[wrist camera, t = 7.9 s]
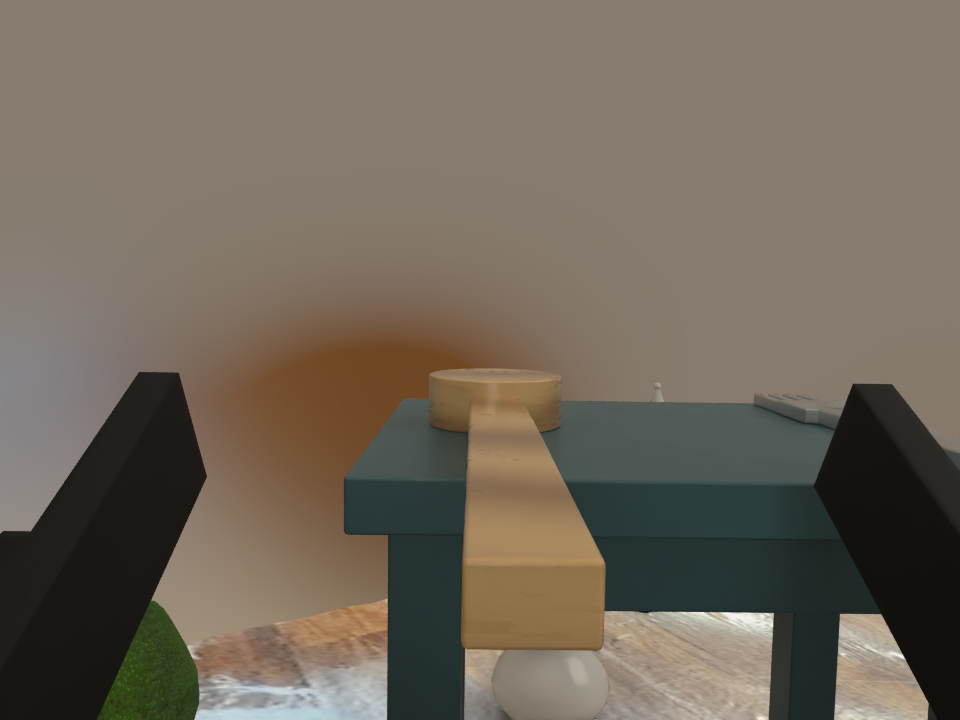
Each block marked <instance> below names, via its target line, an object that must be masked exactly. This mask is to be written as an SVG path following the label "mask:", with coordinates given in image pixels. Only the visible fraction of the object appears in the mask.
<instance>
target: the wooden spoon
mask: <svg viewBox="0 0 960 720" xmlns="http://www.w3.org/2000/svg"><path fill="white" fill-rule="evenodd" d="M429 377H430V378H429V379H430V381H429V382H430V383H429V423H430V425H432V426H434V427H436V428H439V429H443V430H447V431H453V432H460V433H468V452H467V472H466V492H465V512H464V532H463V552H462V594H461V643H462V645H463V647H464V648H466V649H492V650H579V651H597V650H600V649H601V648H602V645H603V641H604V608H605V574H606V565H605V562H604V560H603V558H602V556H601V554H600V552H599V550H598V548H597V546H596V544H595V542H594V540H593V538H592V536H591V534H590V532H589V530H588V528H587V526H586V524H585V522H584V520H583V518H582V516H581V514H580V512H579V510H578V508H577V506H576V504H575V502H574V500H573V498H572V496H571V494H570V492H569V490H568V488H567V486H566V484H565V482H564V480H563V478H562V476H561V474H560V472H559V470H558V468H557V466H556V464H555V462H554V460H553V458H552V456H551V454H550V452H549V450H548V448H547V446H546V444H545V442H544V440H543V438H542V436H541V434H540V433H541V432H546V431H551V430H554V429H556V428H558V427H559V426H560V424H561V388H562V387H561V386H562V378H561V376H560V375H558V374H555V373H549V372H543V371H533V370H518V369H454V370H443V371H437V372H433V373H431V374H430V376H429Z"/></svg>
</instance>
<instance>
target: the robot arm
mask: <svg viewBox="0 0 960 720" xmlns="http://www.w3.org/2000/svg"><path fill="white" fill-rule="evenodd" d="M206 477H207V475H206V472H205V468H204V464H203V461H202V457H201V453H200V450H199V446H198V442H197V438H196V435H195V431H194V428H193V424H192V420H191V417H190V413H189V409H188V405H187V402H186V398H185V395H184V390H183V387H182V384H181V380H180V376H179V373H166V372H164V373H163V372H162V373H161V372H160V373H159V372H139V373H138V375H137V376H136V377H135V379H134V380H133V382H132V383H131V385H130V386H129V388H128V389H127V391H126V392H125V394H124V395H123V397H122V398H121V400H120V401H119V403H118V404H117V405H116V407H115V408H114V410H113V411H112V413H111V414H110V416H109V417H108V419H107V420H106V422H105V423H104V425H103V426H102V428H101V429H100V430H99V432H98V433H97V435H96V436H95V438H94V439H93V441H92V442H91V444H90V445H89V447H88V448H87V450H86V451H85V453H84V454H83V455H82V457H81V458H80V460H79V462H78V463H77V465H76V466H75V467H74V469H73V470H72V472H71V473H70V475H69V476H68V478H67V479H66V480H65V482H64V484H63V485H62V486H61V488H60V489H59V491H58V492H57V494H56V495H55V497H54V498H53V500H52V501H51V503H50V504H49V506H48V507H47V509H46V510H45V511H44V513H43V515H42V516H41V517H40V519H39V520H38V522H37V523H36V525H35V526H34V528H33V529H32V531H31V532H28V531H3V532H2V533H1V534H0V720H97V718H98V716H99V714H100V712H101V710H102V707H103V705H104V703H105V701H106V699H107V696H108V694H109V692H110V690H111V687H112V685H113V683H114V681H115V679H116V676H117V674H118V672H119V670H120V668H121V665H122V663H123V661H124V659H125V657H126V654H127V652H128V650H129V648H130V645H131V643H132V641H133V639H134V637H135V634H136V632H137V630H138V628H139V626H140V623H141V621H142V619H143V617H144V615H145V612H146V610H147V608H148V606H149V603H150V601H151V599H152V597H153V595H154V592H155V590H156V588H157V586H158V584H159V581H160V579H161V577H162V575H163V573H164V570H165V568H166V566H167V564H168V561H169V559H170V557H171V555H172V553H173V550H174V548H175V546H176V544H177V542H178V539H179V537H180V535H181V533H182V530H183V528H184V526H185V524H186V522H187V519H188V517H189V515H190V513H191V511H192V508H193V506H194V504H195V502H196V500H197V497H198V495H199V493H200V491H201V488H202V486H203V484H204V482H205V480H206ZM814 488H815V490H816V492H817V494H818V495H819V497H820V499H821V501H822V503H823V505H824V507H825V509H826V510H827V512H828V514H829V516H830V518H831V520H832V522H833V524H834V526H835V527H836V529H837V531H838V533H839V535H840V537H841V539H842V541H843V543H844V544H845V546H846V548H847V550H848V552H849V554H850V556H851V558H852V559H853V561H854V563H855V565H856V567H857V569H858V571H859V573H860V575H861V576H862V578H863V580H864V582H865V584H866V586H867V588H868V590H869V592H870V593H871V595H872V597H873V599H874V601H875V603H876V605H877V607H878V609H879V610H880V612H881V614H882V616H883V618H884V620H885V622H886V624H887V625H888V627H889V629H890V631H891V633H892V635H893V637H894V639H895V641H896V642H897V644H898V646H899V648H900V650H901V652H902V654H903V656H904V658H905V659H906V661H907V663H908V665H909V667H910V669H911V671H912V673H913V674H914V676H915V678H916V680H917V682H918V684H919V686H920V688H921V690H922V691H923V693H924V695H925V697H926V699H927V701H928V703H929V705H930V707H931V708H932V710H933V712H934V714H935V716H936V718H937V720H960V470H959V469H958V467H957V466H956V465H955V464H954V462H953V461H952V460H951V459H950V457H949V456H948V455H947V453H946V452H945V451H944V450H943V448H942V447H941V446H940V445H939V443H938V442H937V441H936V439H935V438H934V437H933V436H932V434H931V433H930V432H929V431H928V429H927V428H926V427H925V425H924V424H923V423H922V422H921V421H920V419H919V418H918V417H917V415H916V414H915V413H914V411H913V410H912V409H911V408H910V406H909V405H908V404H907V403H906V401H905V400H904V399H903V397H902V396H901V395H900V394H899V393H898V391H897V390H896V389H895V388H894V386H893V385H892V384H853V385H852V388H851V390H850V393H849V395H848V398H847V401H846V403H845V406H844V408H843V411H842V414H841V416H840V419H839V421H838V424H837V427H836V429H835V432H834V434H833V437H832V440H831V442H830V445H829V447H828V450H827V453H826V455H825V458H824V460H823V463H822V465H821V468H820V471H819V473H818V476H817V478H816V481H815V484H814Z"/></svg>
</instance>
